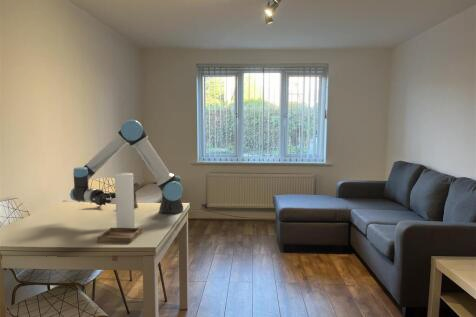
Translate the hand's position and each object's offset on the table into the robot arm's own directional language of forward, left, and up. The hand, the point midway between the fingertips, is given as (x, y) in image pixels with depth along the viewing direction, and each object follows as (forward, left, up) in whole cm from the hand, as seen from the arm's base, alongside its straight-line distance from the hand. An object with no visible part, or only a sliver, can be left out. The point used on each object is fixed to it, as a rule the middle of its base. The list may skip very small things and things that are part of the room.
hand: (125, 199), depth 196 cm
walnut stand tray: (+9, +13, -16) cm, 23 cm away
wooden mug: (-23, -42, -16) cm, 50 cm away
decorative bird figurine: (-8, -57, -16) cm, 59 cm away
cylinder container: (0, -1, -16) cm, 16 cm away
